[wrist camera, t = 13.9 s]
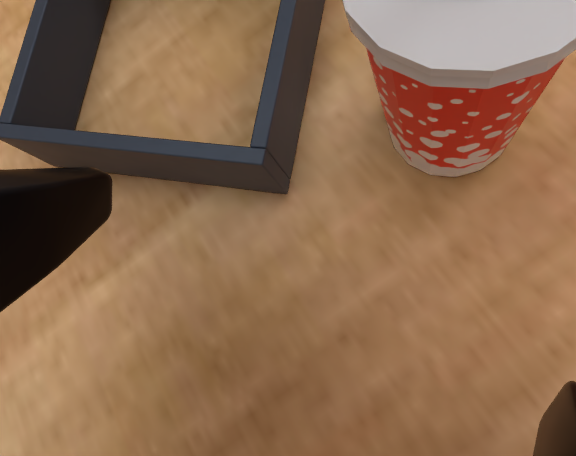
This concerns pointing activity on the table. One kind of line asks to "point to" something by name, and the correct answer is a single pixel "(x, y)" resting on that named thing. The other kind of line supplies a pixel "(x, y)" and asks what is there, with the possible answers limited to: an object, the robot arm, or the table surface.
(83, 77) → the box
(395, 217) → the table surface
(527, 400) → the table surface
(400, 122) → the beverage cup
